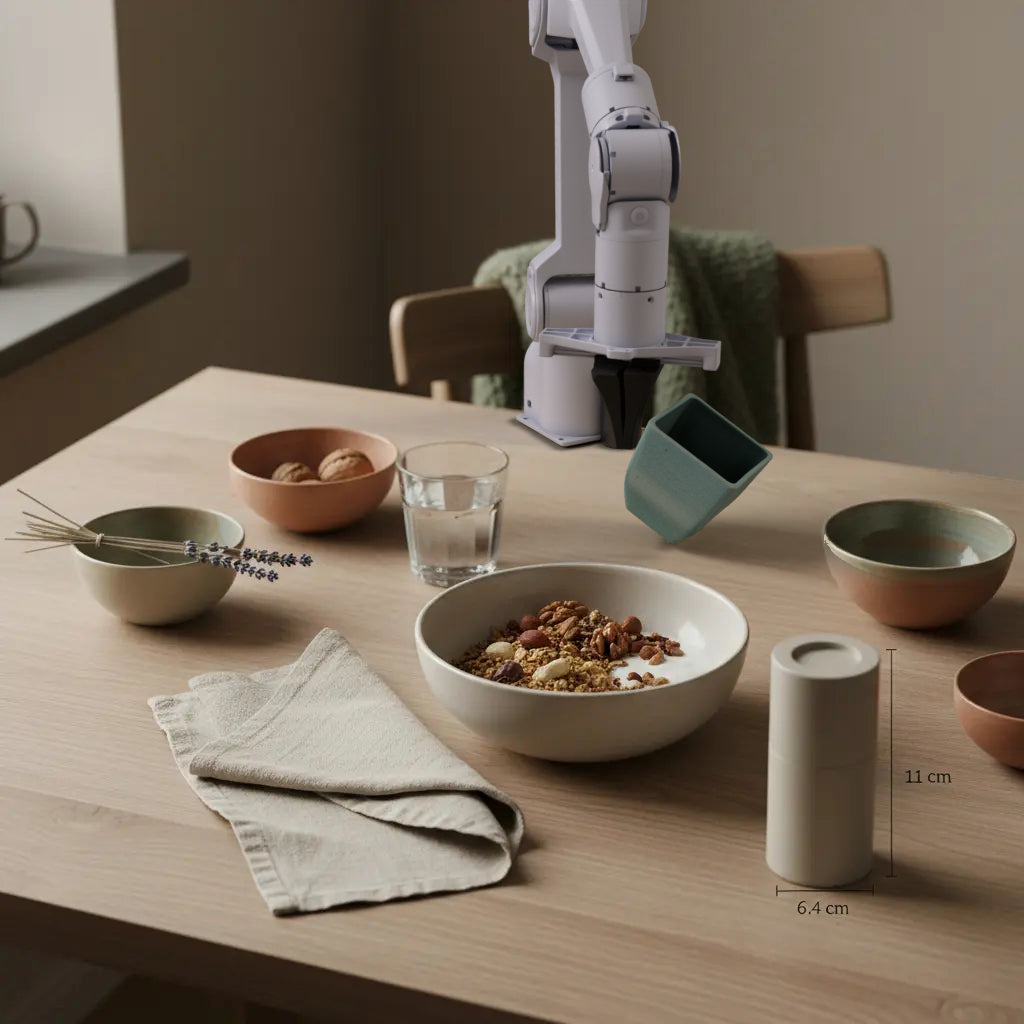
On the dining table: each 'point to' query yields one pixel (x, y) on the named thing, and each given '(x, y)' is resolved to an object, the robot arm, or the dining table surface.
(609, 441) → the cylinder
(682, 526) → the flower pot
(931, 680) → the dining table surface
